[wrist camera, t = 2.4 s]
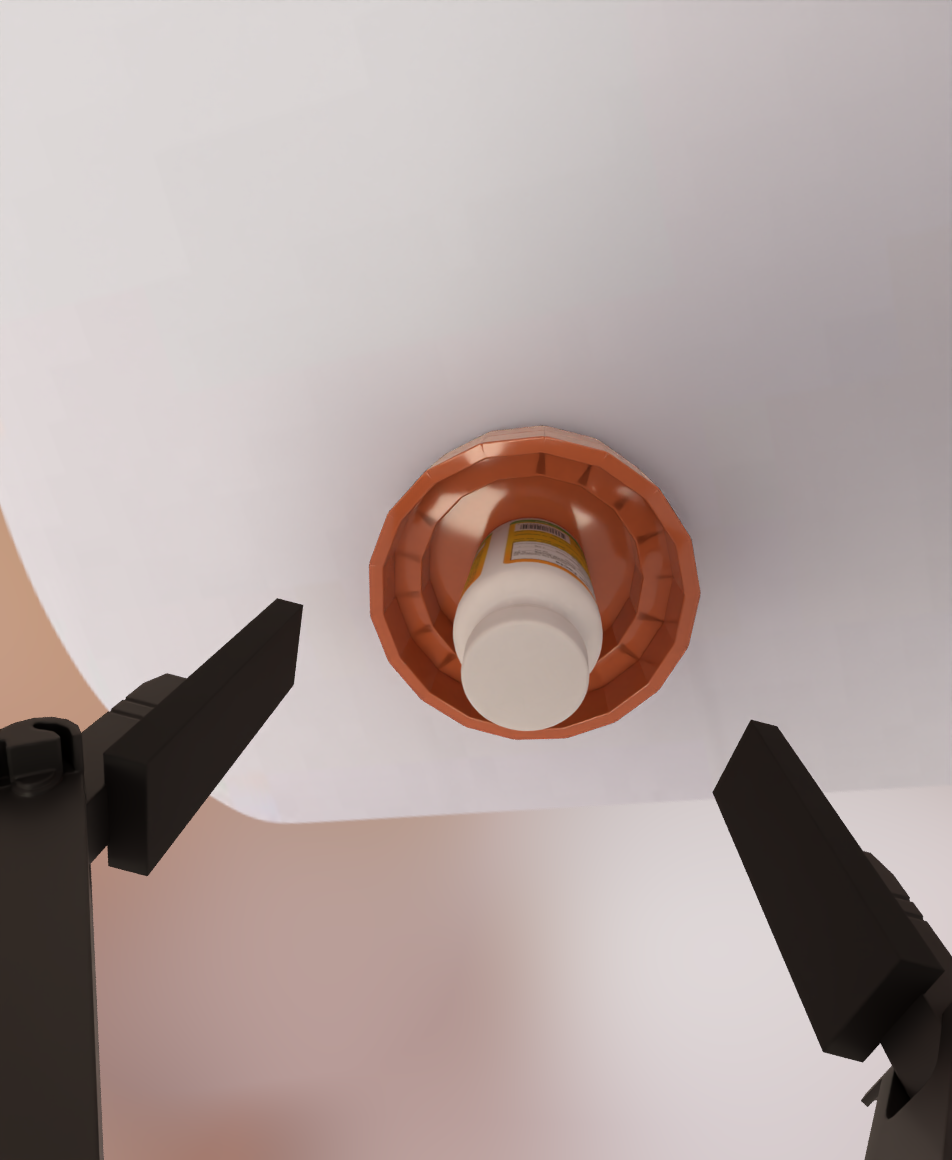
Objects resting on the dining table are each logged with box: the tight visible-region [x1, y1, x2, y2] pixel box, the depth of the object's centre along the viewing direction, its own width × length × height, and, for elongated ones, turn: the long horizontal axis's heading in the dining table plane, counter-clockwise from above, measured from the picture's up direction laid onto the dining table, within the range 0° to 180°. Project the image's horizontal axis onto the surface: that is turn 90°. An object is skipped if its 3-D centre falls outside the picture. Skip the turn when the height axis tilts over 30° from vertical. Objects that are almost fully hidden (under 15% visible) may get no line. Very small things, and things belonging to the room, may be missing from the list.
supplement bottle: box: [453, 518, 603, 731], centre depth 21 cm, size 5×5×10 cm
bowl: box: [369, 425, 701, 740], centre depth 24 cm, size 13×13×4 cm
